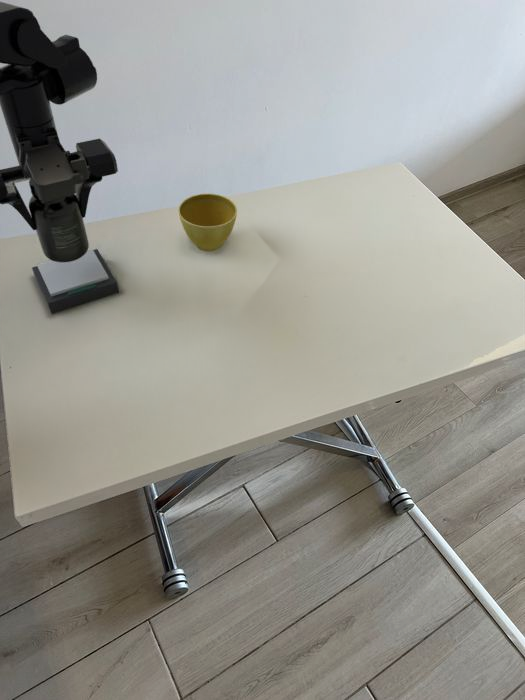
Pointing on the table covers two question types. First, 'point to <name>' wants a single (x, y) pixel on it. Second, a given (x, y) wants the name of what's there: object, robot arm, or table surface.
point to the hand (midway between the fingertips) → (58, 222)
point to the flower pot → (207, 220)
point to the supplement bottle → (59, 227)
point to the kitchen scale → (75, 281)
